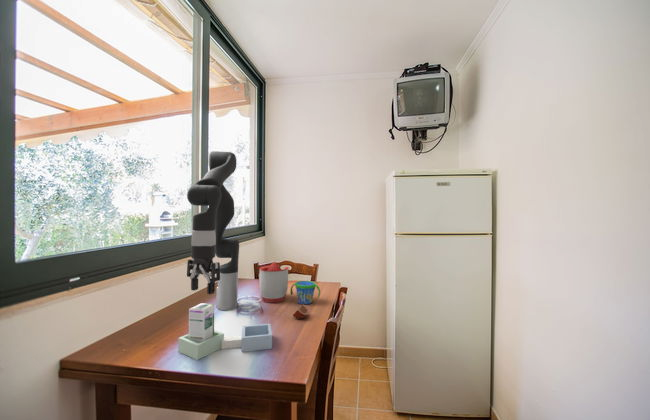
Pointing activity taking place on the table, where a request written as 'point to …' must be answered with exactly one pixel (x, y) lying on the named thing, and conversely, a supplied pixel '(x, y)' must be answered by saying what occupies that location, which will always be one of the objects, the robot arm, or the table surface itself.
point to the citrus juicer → (273, 283)
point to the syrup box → (201, 322)
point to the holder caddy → (228, 341)
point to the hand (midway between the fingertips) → (202, 291)
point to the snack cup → (305, 291)
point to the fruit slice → (301, 312)
